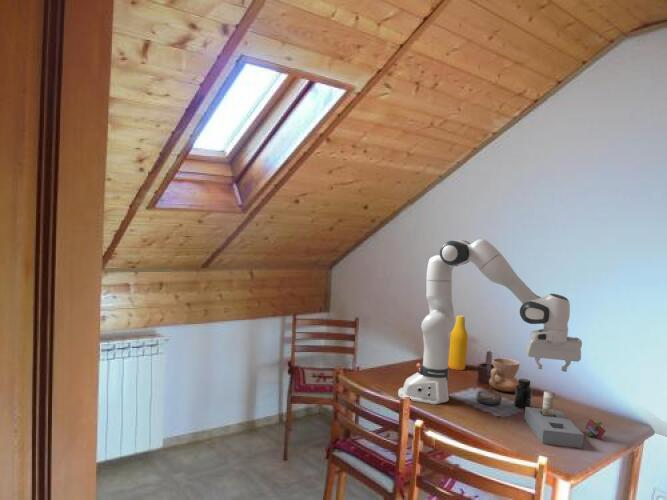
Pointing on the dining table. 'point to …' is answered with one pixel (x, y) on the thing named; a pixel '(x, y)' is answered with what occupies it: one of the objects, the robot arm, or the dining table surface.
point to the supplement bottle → (523, 394)
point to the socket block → (553, 428)
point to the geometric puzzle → (595, 429)
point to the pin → (548, 404)
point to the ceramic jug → (504, 374)
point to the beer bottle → (458, 345)
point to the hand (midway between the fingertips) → (551, 369)
